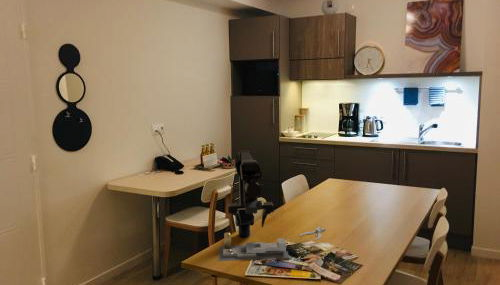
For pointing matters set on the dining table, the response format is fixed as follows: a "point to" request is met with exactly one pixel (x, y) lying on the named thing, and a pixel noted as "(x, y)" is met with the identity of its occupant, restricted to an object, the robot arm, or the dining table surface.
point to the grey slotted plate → (238, 253)
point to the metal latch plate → (266, 246)
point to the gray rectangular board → (250, 257)
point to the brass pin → (227, 240)
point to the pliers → (315, 232)
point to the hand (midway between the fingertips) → (251, 227)
